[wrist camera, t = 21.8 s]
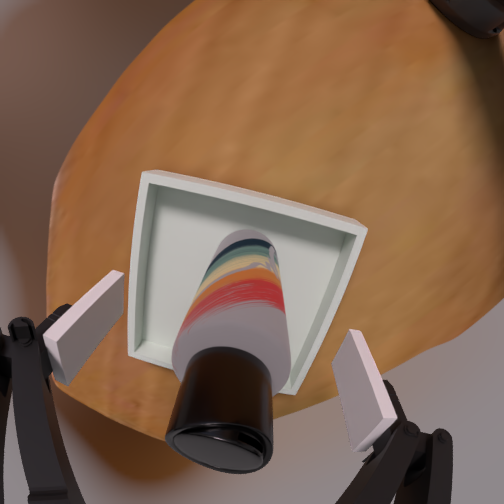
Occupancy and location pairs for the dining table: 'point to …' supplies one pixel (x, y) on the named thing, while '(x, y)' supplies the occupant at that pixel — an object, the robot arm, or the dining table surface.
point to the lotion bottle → (231, 359)
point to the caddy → (205, 245)
